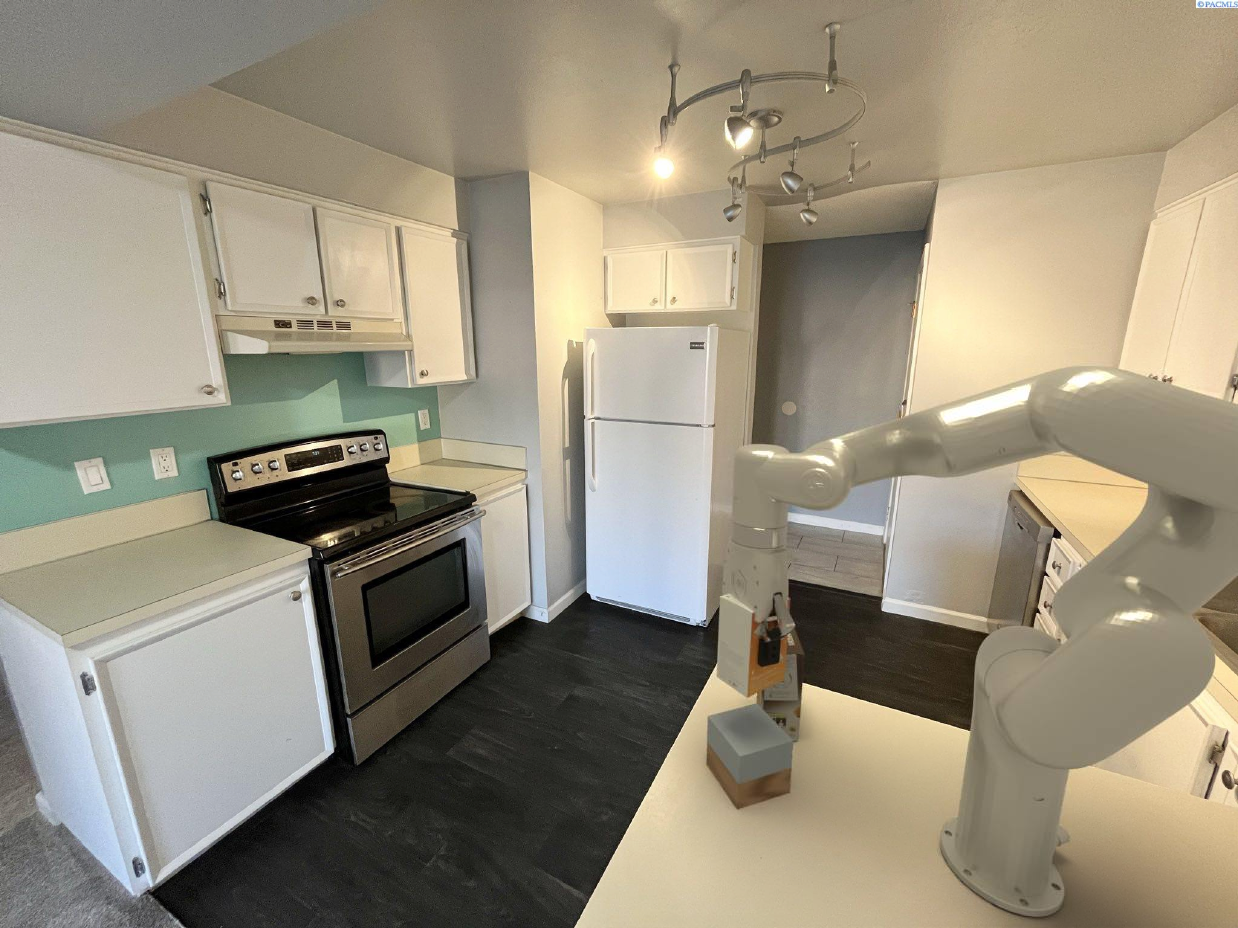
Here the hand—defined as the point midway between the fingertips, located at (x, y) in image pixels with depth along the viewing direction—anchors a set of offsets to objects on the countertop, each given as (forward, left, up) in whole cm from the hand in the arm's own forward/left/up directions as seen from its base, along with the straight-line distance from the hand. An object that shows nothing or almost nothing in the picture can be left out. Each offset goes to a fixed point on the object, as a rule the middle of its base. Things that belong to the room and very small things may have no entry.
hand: (752, 648), depth 76 cm
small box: (0, 0, -5) cm, 5 cm away
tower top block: (0, 0, -18) cm, 18 cm away
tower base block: (0, 0, -22) cm, 22 cm away
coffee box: (-12, -9, -22) cm, 27 cm away
